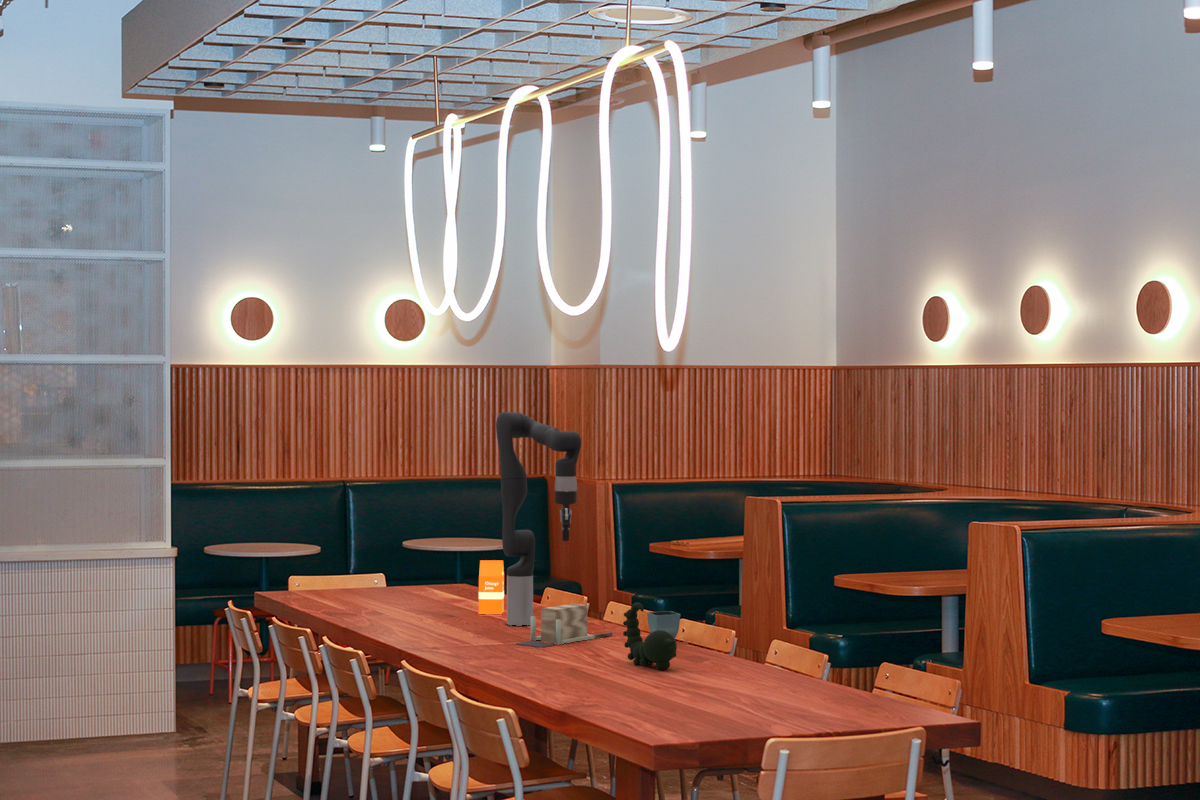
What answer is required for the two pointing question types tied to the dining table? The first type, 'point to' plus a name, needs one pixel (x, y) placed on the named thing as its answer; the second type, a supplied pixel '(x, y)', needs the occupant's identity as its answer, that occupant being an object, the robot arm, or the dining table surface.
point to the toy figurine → (648, 642)
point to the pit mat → (535, 644)
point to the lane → (603, 634)
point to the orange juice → (491, 587)
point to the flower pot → (664, 622)
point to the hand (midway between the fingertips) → (565, 540)
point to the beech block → (563, 622)
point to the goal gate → (558, 633)
